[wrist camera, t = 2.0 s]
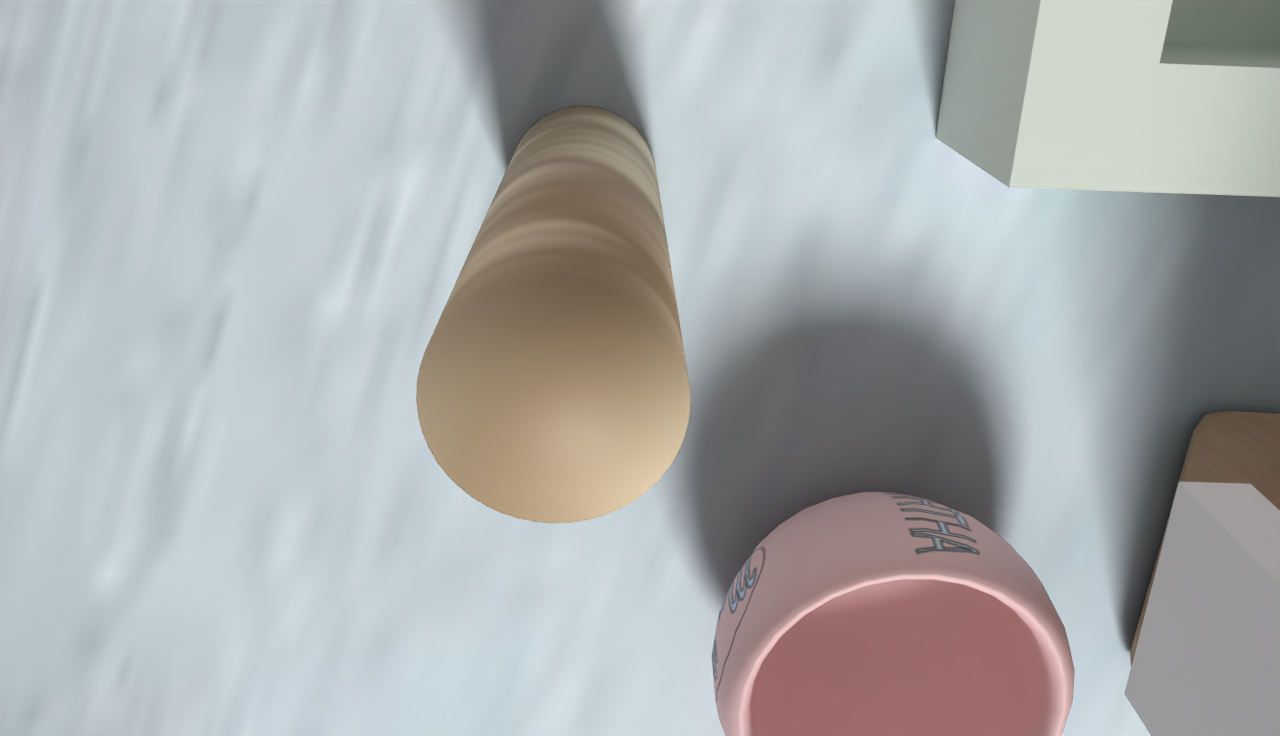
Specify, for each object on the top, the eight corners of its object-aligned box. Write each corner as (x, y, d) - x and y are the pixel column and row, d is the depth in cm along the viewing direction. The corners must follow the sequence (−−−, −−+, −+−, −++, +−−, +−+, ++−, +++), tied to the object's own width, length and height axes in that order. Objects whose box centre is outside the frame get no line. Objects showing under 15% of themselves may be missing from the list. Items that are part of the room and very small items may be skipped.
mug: (726, 437, 33) (747, 539, 28) (1046, 465, 34) (1130, 571, 28) (678, 752, 37) (688, 894, 32) (962, 772, 38) (1020, 915, 33)
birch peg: (510, 248, 31) (421, 520, 17) (509, 103, 29) (410, 267, 15) (653, 253, 31) (683, 526, 17) (659, 108, 29) (698, 277, 15)
